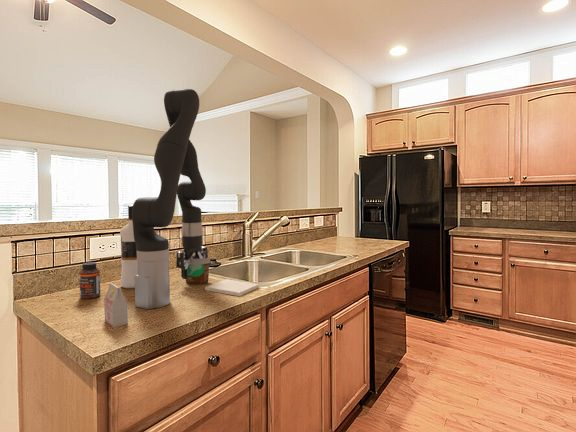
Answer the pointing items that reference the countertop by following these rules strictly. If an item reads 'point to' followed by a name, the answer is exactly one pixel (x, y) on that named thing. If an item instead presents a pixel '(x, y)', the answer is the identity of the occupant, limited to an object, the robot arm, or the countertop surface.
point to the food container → (198, 271)
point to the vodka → (128, 253)
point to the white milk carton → (115, 307)
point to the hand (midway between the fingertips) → (193, 276)
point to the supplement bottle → (89, 281)
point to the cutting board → (232, 287)
